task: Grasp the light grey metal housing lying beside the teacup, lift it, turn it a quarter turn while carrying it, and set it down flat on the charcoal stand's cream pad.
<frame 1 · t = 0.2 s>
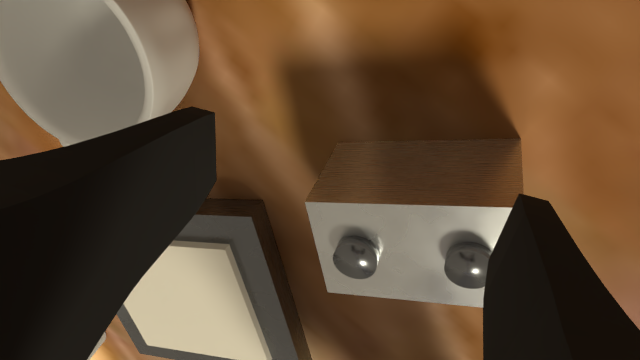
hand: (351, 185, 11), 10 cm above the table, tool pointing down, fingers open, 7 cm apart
stand: (196, 282, 32), on the table
teacup: (144, 39, 23), on the table
housing: (428, 185, 23), on the table
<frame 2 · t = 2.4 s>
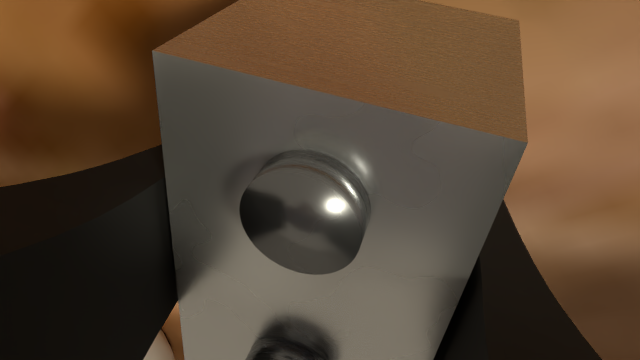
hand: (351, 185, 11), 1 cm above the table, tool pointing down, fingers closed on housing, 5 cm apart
teacup: (145, 340, 22), on the table
housing: (364, 154, 12), on the table, touching gripper
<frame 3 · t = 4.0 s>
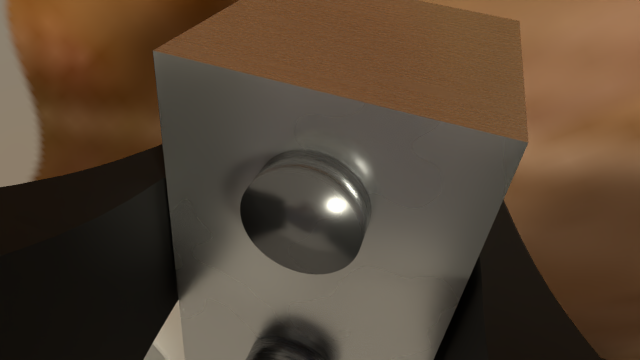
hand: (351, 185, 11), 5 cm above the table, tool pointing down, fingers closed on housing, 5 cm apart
teacup: (188, 278, 25), on the table
housing: (365, 154, 12), point 4 cm above the table, touching gripper
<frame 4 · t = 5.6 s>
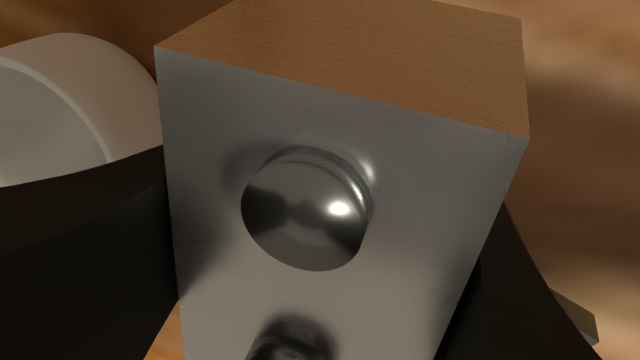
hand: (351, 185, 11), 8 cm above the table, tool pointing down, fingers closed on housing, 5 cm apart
stand: (384, 313, 26), on the table
teacup: (135, 113, 24), on the table
housing: (365, 152, 12), point 7 cm above the table, touching gripper
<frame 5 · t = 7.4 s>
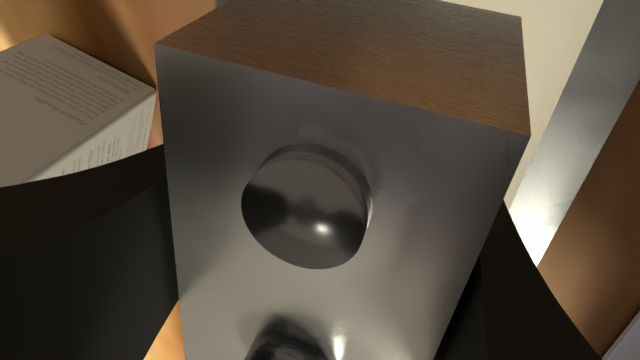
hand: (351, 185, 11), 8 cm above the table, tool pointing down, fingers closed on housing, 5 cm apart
stand: (407, 60, 18), on the table
housing: (365, 151, 12), point 7 cm above the table, touching gripper
skincare box: (106, 92, 24), on the table
when the fingers open (4 cm above the table, at t = 9.1 s): housing stays where it is, resting on stand.
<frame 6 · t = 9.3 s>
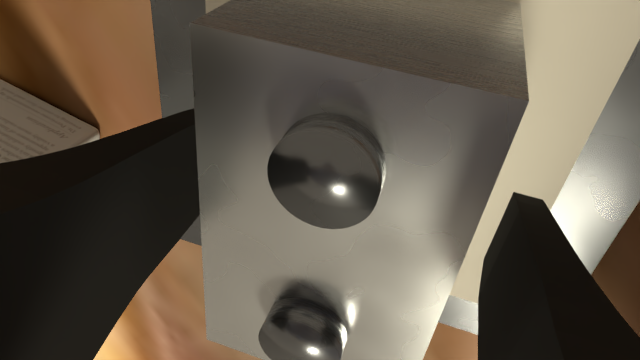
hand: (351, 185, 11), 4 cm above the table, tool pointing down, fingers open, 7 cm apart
stand: (387, 105, 15), on the table
housing: (374, 134, 13), point 2 cm above the table, touching stand
skincare box: (46, 129, 20), on the table
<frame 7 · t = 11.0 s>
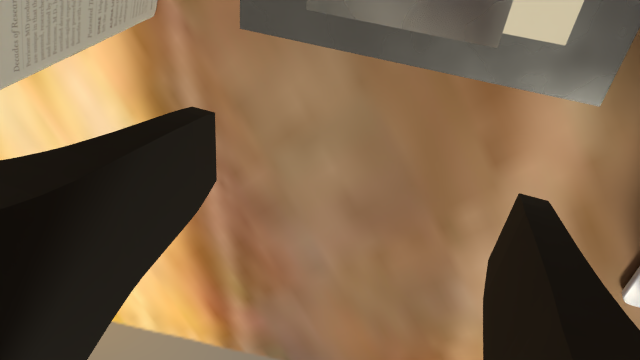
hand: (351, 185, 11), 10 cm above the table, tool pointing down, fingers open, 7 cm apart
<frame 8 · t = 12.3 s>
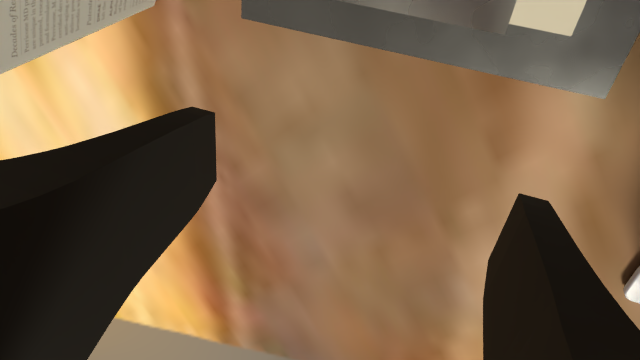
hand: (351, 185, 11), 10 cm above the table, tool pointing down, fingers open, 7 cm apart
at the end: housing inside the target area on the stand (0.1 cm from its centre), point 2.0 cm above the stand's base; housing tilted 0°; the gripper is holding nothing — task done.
